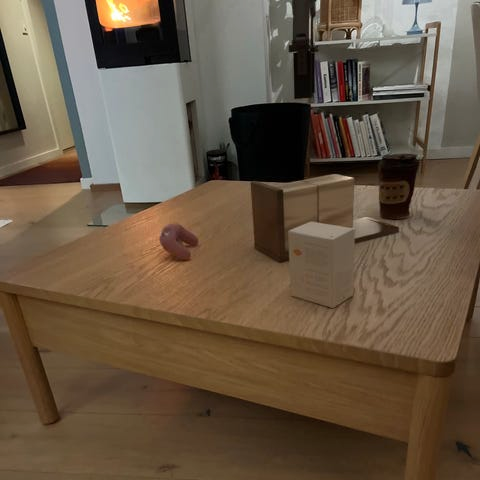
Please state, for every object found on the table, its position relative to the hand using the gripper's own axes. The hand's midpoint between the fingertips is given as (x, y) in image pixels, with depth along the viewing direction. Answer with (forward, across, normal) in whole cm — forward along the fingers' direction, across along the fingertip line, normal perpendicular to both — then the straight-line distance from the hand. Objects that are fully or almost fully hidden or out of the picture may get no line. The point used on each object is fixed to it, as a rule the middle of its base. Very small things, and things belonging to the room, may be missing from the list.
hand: (305, 96), depth 82 cm
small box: (+27, +24, +4) cm, 36 cm away
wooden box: (+27, -2, +4) cm, 27 cm away
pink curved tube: (+27, +4, -25) cm, 37 cm away
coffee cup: (+27, -18, +18) cm, 37 cm away
